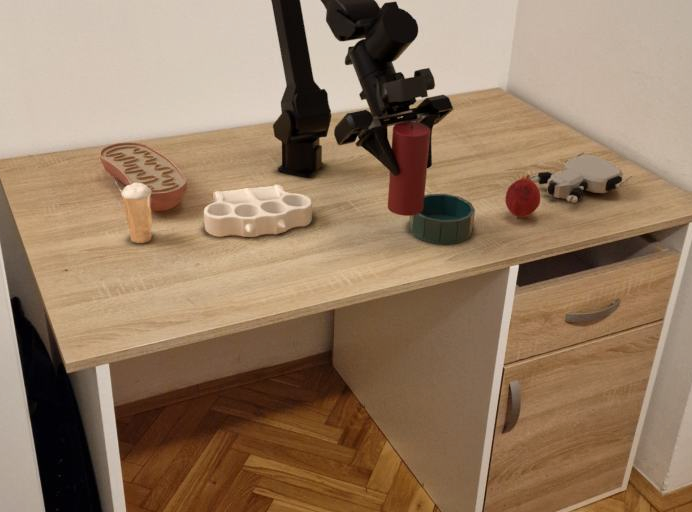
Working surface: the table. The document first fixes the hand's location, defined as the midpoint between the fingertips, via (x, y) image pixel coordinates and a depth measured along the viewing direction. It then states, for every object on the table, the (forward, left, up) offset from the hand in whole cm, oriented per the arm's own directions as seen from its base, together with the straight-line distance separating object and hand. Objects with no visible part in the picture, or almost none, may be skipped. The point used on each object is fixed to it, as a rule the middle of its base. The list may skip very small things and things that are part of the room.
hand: (413, 170), depth 142 cm
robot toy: (+21, +34, -14) cm, 42 cm away
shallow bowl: (+3, +9, -13) cm, 16 cm away
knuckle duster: (-26, -1, -13) cm, 29 cm away
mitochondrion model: (-48, 0, -14) cm, 50 cm away
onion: (+14, +19, -14) cm, 27 cm away
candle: (-1, +1, -7) cm, 7 cm away
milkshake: (-40, -15, -13) cm, 45 cm away
